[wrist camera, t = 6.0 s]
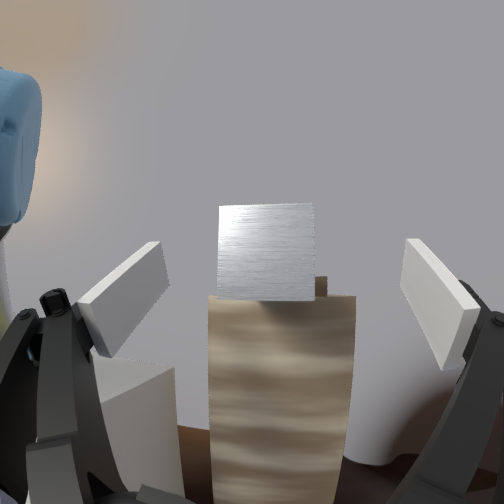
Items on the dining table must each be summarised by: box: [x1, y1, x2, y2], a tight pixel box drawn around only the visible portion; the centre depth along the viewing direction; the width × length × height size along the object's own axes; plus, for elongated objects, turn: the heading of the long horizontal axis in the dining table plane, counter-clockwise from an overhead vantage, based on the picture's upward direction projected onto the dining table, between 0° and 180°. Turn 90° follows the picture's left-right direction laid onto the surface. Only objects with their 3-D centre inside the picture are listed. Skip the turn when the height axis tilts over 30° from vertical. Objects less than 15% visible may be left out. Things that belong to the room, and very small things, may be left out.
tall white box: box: [26, 352, 185, 504], centre depth 17 cm, size 16×10×23 cm, turn 170°
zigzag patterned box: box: [208, 276, 356, 504], centre depth 27 cm, size 16×11×32 cm
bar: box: [217, 203, 315, 301], centre depth 26 cm, size 28×4×4 cm, turn 170°
